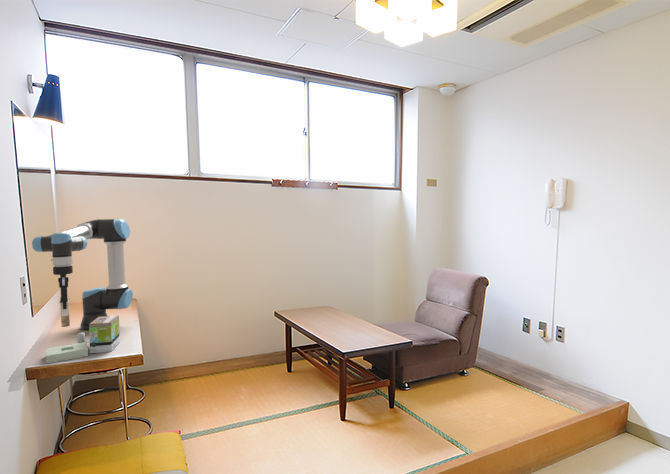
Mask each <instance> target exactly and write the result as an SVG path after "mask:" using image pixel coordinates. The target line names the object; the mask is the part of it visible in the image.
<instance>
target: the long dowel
mask: <svg viewBox="0 0 670 474" xmlns="http://www.w3.org/2000/svg"><path fill="white" fill-rule="evenodd" d="M67 298H69V296H68V295H67ZM59 299H60V300H59V301H61V296H60V297H59ZM69 300H70V298H69V299H68V311H69V312H70V303H69ZM59 304H60V305H59V306H61V303H59ZM60 318H61V319H60V321H61V328H67V327H70V325H71V323H70V322H71V321H70V320H71V319H70V314H69V315H68V316H62V313H61V312H60Z"/></svg>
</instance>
